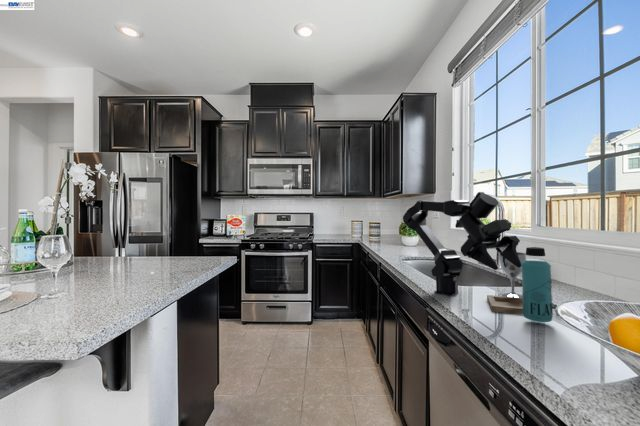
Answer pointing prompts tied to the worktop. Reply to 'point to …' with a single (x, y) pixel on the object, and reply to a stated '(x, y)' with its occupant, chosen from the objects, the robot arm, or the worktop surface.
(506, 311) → the walnut tray
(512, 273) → the wine glass
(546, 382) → the worktop surface
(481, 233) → the robot arm
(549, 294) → the beverage bottle
